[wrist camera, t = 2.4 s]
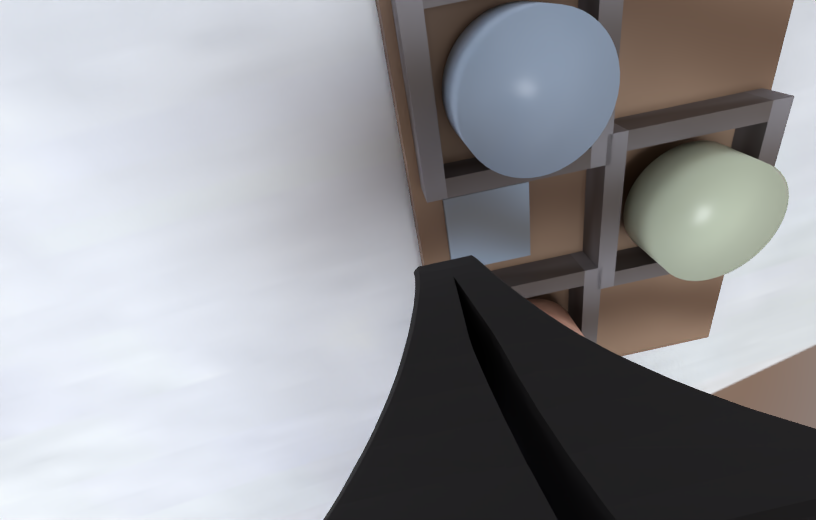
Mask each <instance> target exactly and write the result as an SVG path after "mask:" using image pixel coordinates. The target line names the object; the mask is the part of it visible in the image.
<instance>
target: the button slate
mask: <svg viewBox="0 0 816 520" xmlns="http://www.w3.org/2000/svg"><path fill="white" fill-rule="evenodd" d="M619 84H620V67H619V59H618V55H617V51H616V48H615V46H614V43H613V41H612V39H611V37H610V35H609V34H608V32H607V31H606V29H605V28H604V27H603V26H602V25H601V23H600V22H599V21H597V20H596V19H595V18H594V17H593V16H591V15H590V14H588V13H586V12H585V11H583V10H580V9H578V8H575V7H573V6H567V5H562V4H553V3H544V2H534V1H514V2H508V3H504V4H501V5H498V6H496V7H494V8H491V9H489V10H488V11H486V12H484V13H483V14H481V15H480V16H479V17H477V18H476V19H475V20H474V21H472V22H471V23H470V24H469V25H468V26H467V27H466V28H465V29H464V31H463V32H462V33H461V35H460V36H459V37H458V39H457V40H456V42H455V44H454V45H453V47H452V49H451V51H450V54H449V56H448V58H447V61H446V65H445V68H444V73H443V78H442V99H443V105H444V109H445V112H446V115H447V118H448V120H449V122H450V124H451V126H452V127H453V129H454V130H455V132H456V133H457V134H458V136H459V137H460V138H461V139H462V141H463V142H464V143H465V145H466V146H467V147H468V148H469V150H470V151H471V152H472V153H473V155H474V156H475V157H476V158H477V159H478V160H479V161H480V162H481V163H482V164H484V165H485V166H486V167H488V168H489V169H491V170H493V171H495V172H497V173H499V174H502V175H505V176H509V177H515V178H534V177H540V176H544V175H548V174H551V173H553V172H556V171H558V170H560V169H562V168H564V167H566V166H568V165H569V164H571V163H572V162H574V161H575V160H577V159H578V158H579V157H580V156H582V155H583V154H584V153H585V152H586V151H587V150H588V149H589V148H590V147H591V146H592V145H593V144H594V143H595V141H596V140H597V139H598V137H599V136H600V135H601V133H602V132H603V130H604V129H605V127H606V125H607V123H608V121H609V119H610V117H611V115H612V112H613V110H614V107H615V104H616V100H617V97H618V92H619Z"/></svg>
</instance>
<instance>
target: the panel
mask: <svg viewBox="0 0 816 520" xmlns="http://www.w3.org/2000/svg"><path fill="white" fill-rule="evenodd" d="M514 1H534V2H544V3H553V4H562V5H567V6H573V7H575V8H578V9H580V10H583V11H585V12H586V13H588V14H590V15H591V16H593V17H594V18H595V19H596V20H597V21H599V22H600V23H601V25H602V26H603V27H604V28H605V29H606V31H607V32H608V34H609V35H610V37H611V39H612V41H613V43H614V46H615V48H616V51H617V55H618V59H619V67H620V84H619V92H618V97H617V100H616V104H615V107H614V110H613V112H612V115H611V117H610V119H609V121H608V123H607V125H606V127H605V129H604V130H603V132H602V133H601V135H600V136H599V137H598V139H597V140H596V141H595V143H594V144H593V145H592V146H591V147H590V148H589V149H588V150H587V151H586V152H585V153H584V154H583V155H582V156H580V157H579V158H578V159H577V160H575V161H574V162H572V163H571V164H569V165H568V166H566V167H564V168H562V169H560V170H558V171H556V172H553V173H551V174H548V175H544V176H540V177H534V178H515V177H509V176H505V175H502V174H499V173H497V172H495V171H493V170H491V169H489V168H488V167H486V166H485V165H484V164H482V163H481V162H480V161H479V160H478V159H477V158H476V157H475V156H474V155H473V153H472V152H471V151H470V150H469V148H468V147H467V146H466V145H465V143H464V142H463V141H462V139H461V138H460V137H459V136H458V134H457V133H456V132H455V130H454V129H453V127H452V126H451V124H450V122H449V120H448V118H447V115H446V112H445V109H444V105H443V99H442V78H443V73H444V68H445V65H446V61H447V58H448V56H449V54H450V51H451V49H452V47H453V45H454V44H455V42H456V40H457V39H458V37H459V36H460V35H461V33H462V32H463V31H464V29H465V28H466V27H467V26H468V25H469V24H470V23H471V22H472V21H474V20H475V19H476V18H477V17H479V16H480V15H481V14H483V13H484V12H486V11H488V10H489V9H491V8H494V7H496V6H498V5H501V4H504V3H508V2H514ZM793 2H794V0H376V6H377V11H378V17H379V23H380V28H381V34H382V40H383V45H384V51H385V57H386V62H387V68H388V74H389V79H390V85H391V91H392V96H393V102H394V108H395V113H396V119H397V125H398V130H399V136H400V142H401V147H402V153H403V159H404V164H405V170H406V176H407V181H408V187H409V193H410V198H411V204H412V210H413V215H414V221H415V227H416V232H417V238H418V244H419V249H420V255H421V261H422V266H424V265H429V264H433V263H438V262H442V261H447V260H452V259H456V258H461V257H465V256H470V255H472V256H474V257H475V258H477V259H478V260H479V261H480V262H481V263H483V264H484V265H485V266H486V267H487V268H488V269H489V270H491V271H492V272H493V273H494V274H495V275H496V276H498V277H499V278H500V279H501V280H503V281H504V282H505V283H506V284H507V285H509V286H510V287H511V288H513V289H514V290H515V291H516V292H518V293H519V294H520V295H522V296H523V297H524V298H526V299H545V300H549V301H552V302H555V303H557V304H559V305H560V306H562V307H563V308H564V309H565V310H566V311H567V312H568V314H569V315H570V317H571V318H572V319H573V321H574V322H575V324H576V325H577V327H578V328H579V329H580V331H581V332H582V334H583V335H584V337H585V338H587V339H589V340H591V341H593V342H594V343H596V344H598V345H600V346H602V347H604V348H606V349H607V350H609V351H611V352H613V353H615V354H617V355H619V356H624V355H629V354H634V353H638V352H643V351H647V350H652V349H656V348H661V347H665V346H670V345H674V344H679V343H683V342H688V341H692V340H697V339H701V338H706V337H708V336H709V332H710V328H711V324H712V320H713V316H714V312H715V308H716V304H717V300H718V296H719V292H720V288H721V285H722V281H723V277H724V275H722V276H719V277H716V278H712V279H708V280H702V281H688V280H683V279H679V278H677V277H675V276H673V275H671V274H670V273H669V272H667V271H666V270H665V269H664V268H663V267H662V266H661V265H659V264H658V263H657V262H656V261H655V260H654V259H653V258H651V257H650V256H649V255H648V254H647V253H646V252H645V251H643V250H642V249H641V248H640V247H639V246H638V245H637V244H635V243H634V242H633V241H632V240H631V238H630V237H629V236H628V234H627V232H626V229H625V226H624V220H623V213H624V206H625V202H626V199H627V196H628V194H629V191H630V189H631V187H632V186H633V184H634V182H635V181H636V179H637V178H638V177H639V175H640V174H641V173H642V172H643V171H644V169H645V168H646V167H647V166H648V165H649V164H650V163H651V162H653V161H654V160H655V159H656V158H658V157H659V156H660V155H662V154H663V153H665V152H667V151H668V150H670V149H672V148H674V147H676V146H679V145H681V144H684V143H688V142H692V141H699V140H708V141H714V142H717V143H720V144H723V145H725V146H727V147H730V148H732V149H735V150H737V151H739V152H742V153H744V154H746V155H749V156H751V157H753V158H756V159H758V160H761V161H763V162H765V163H768V164H770V165H772V166H773V167H774V166H775V162H776V159H777V155H778V152H779V148H780V145H781V141H782V137H783V134H784V130H785V127H786V123H787V120H788V116H789V113H790V109H791V106H792V102H793V99H794V96H792V95H788V94H784V93H780V92H776V91H772V90H771V88H772V84H773V80H774V76H775V73H776V69H777V65H778V61H779V57H780V53H781V49H782V45H783V41H784V37H785V33H786V29H787V25H788V21H789V18H790V14H791V10H792V6H793Z"/></svg>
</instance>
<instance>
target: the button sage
mask: <svg viewBox="0 0 816 520" xmlns="http://www.w3.org/2000/svg"><path fill="white" fill-rule="evenodd" d="M788 198H789V193H788V186H787V182H786V180H785V178H784V176H783V175H782V174H781V172H780V171H779V170H778V169H776V168H775V167H773V166H772V165H770V164H768V163H765V162H763V161H761V160H758V159H756V158H753V157H751V156H749V155H746V154H744V153H742V152H739V151H737V150H735V149H732V148H730V147H727V146H725V145H723V144H720V143H717V142H714V141H708V140H699V141H692V142H688V143H684V144H681V145H679V146H676V147H674V148H672V149H670V150H668V151H667V152H665V153H663V154H662V155H660V156H659V157H658V158H656V159H655V160H654V161H653V162H651V163H650V164H649V165H648V166H647V167H646V168H645V169H644V171H643V172H642V173H641V174H640V175H639V177H638V178H637V179H636V181H635V182H634V184H633V186H632V187H631V189H630V191H629V194H628V196H627V199H626V202H625V206H624V213H623V220H624V226H625V229H626V232H627V234H628V236H629V237H630V238H631V240H632V241H633V242H634V243H635V244H637V245H638V246H639V247H640V248H641V249H642V250H643V251H645V252H646V253H647V254H648V255H649V256H650V257H651V258H653V259H654V260H655V261H656V262H657V263H658V264H659V265H661V266H662V267H663V268H664V269H665V270H666V271H667V272H669V273H670V274H671V275H673V276H675V277H677V278H679V279H683V280H688V281H702V280H708V279H712V278H716V277H719V276H722V275H725V274H727V273H729V272H731V271H733V270H735V269H737V268H738V267H740V266H742V265H743V264H745V263H746V262H748V261H749V260H750V259H752V258H753V257H754V256H755V255H756V254H757V253H759V252H760V251H761V250H762V249H763V248H764V247H765V245H766V244H767V243H768V242H769V241H770V240H771V238H772V237H773V236H774V234H775V233H776V231H777V230H778V228H779V226H780V224H781V222H782V220H783V218H784V216H785V213H786V210H787V205H788Z"/></svg>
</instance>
